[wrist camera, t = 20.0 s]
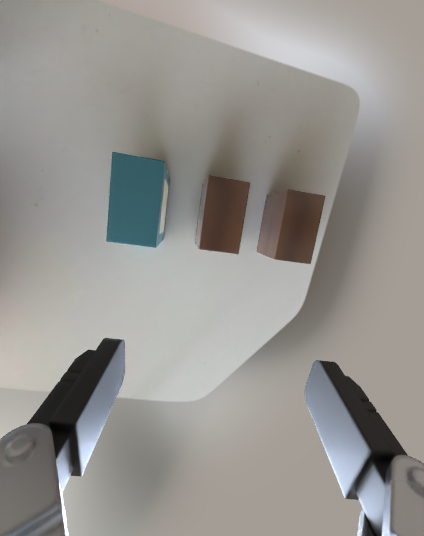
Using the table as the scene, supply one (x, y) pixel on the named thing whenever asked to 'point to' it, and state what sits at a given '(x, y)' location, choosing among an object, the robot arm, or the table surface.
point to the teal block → (137, 200)
